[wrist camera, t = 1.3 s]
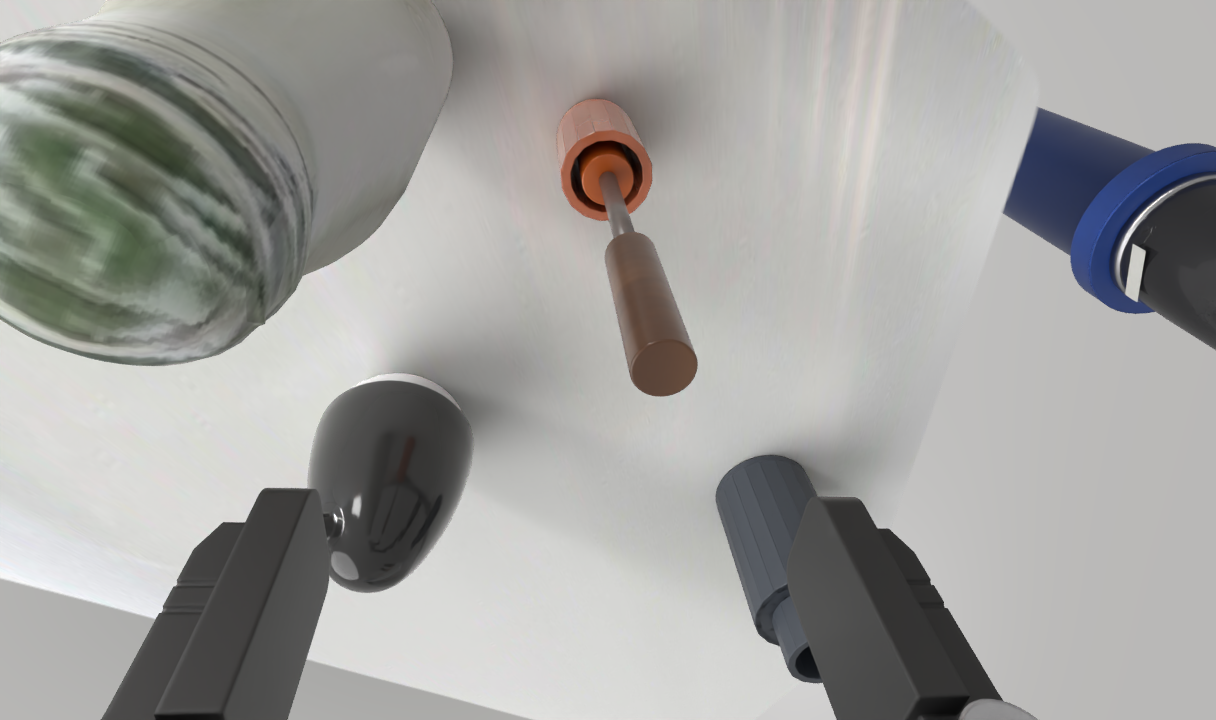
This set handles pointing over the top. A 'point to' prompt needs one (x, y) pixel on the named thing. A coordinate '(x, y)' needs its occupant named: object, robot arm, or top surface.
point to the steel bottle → (768, 548)
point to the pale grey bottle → (202, 162)
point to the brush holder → (586, 128)
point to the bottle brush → (637, 281)
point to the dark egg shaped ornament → (388, 476)
